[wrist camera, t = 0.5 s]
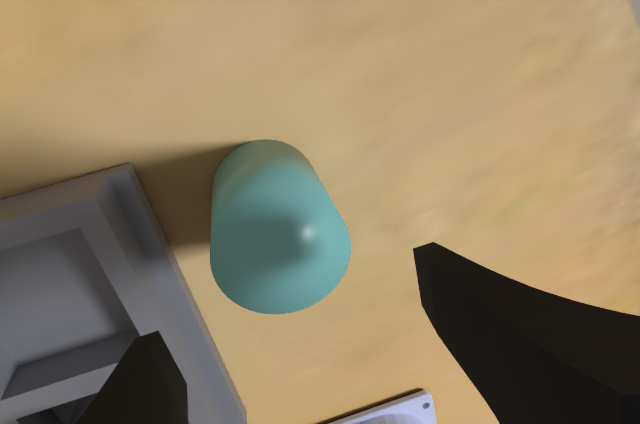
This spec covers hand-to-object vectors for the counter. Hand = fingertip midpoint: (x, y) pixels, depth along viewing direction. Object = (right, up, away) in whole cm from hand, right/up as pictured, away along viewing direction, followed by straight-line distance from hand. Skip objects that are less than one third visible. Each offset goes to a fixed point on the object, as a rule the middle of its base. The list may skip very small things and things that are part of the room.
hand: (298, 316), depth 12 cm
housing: (-10, -3, +10) cm, 14 cm away
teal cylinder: (-2, +4, +8) cm, 9 cm away
